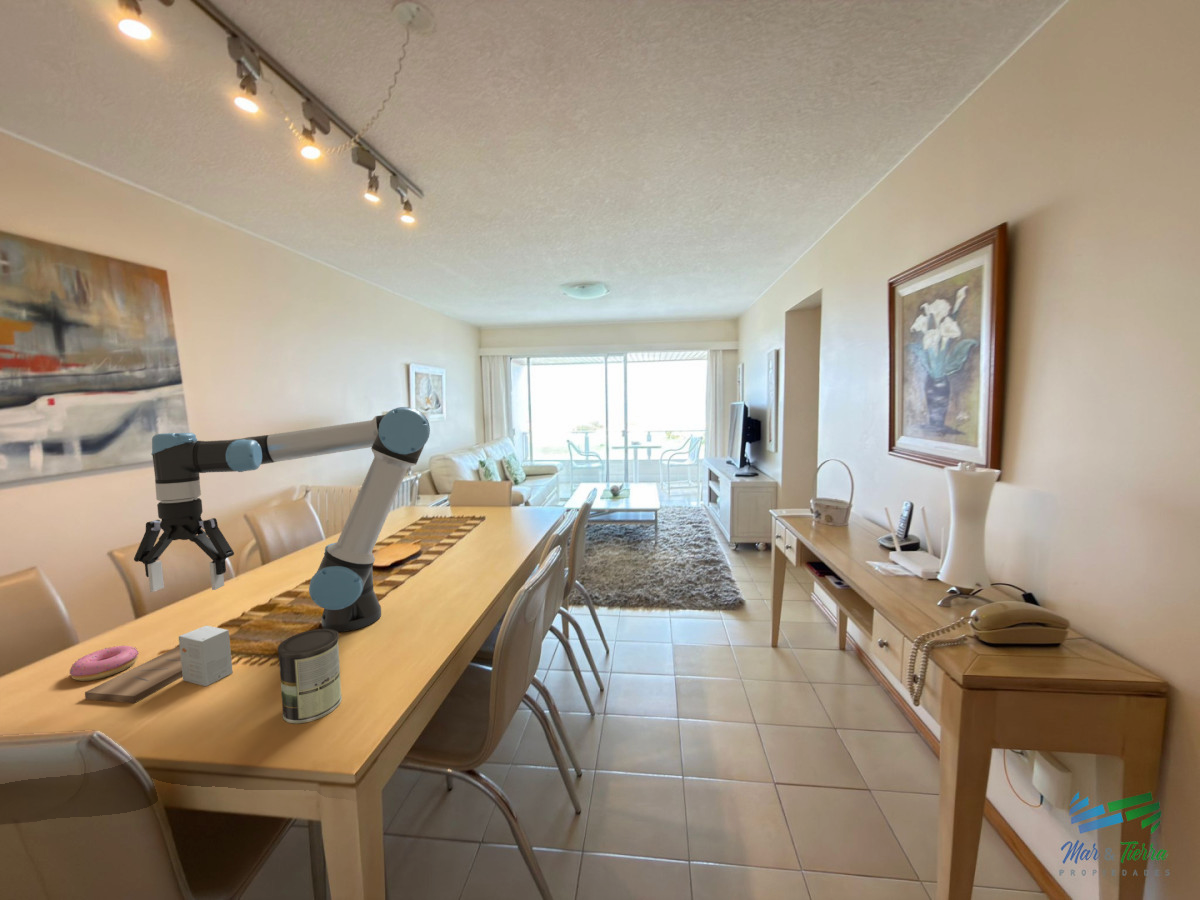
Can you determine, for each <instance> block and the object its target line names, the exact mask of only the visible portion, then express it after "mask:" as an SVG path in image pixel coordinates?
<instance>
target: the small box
mask: <svg viewBox="0 0 1200 900" xmlns="http://www.w3.org/2000/svg"><path fill="white" fill-rule="evenodd" d="M178 644H179V645H178V646H180V656H181V666H182V675H183V677H182V680H183V681H184V682H188V683H191V684H196V685H199V686H203V687H207V686H209V685H212V684H214V683H216V682H218V681H220V680H222V679H224V678H225V677H227V676H229V675H231V674H233V663H232V662H233V661H232V652H231V650H232V649H231V641H230V630H229V629H224V628H221V627H216V626H215V627H214V626H211V625H204V626H201V627H199V628H197V629H194V630H191V631H188V632H186V633H183V634H181V635H179V636H178Z"/></svg>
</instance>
